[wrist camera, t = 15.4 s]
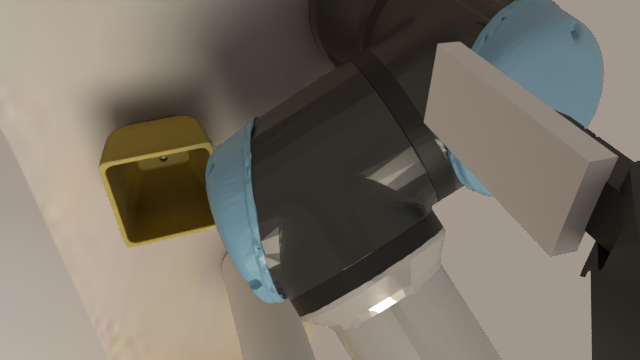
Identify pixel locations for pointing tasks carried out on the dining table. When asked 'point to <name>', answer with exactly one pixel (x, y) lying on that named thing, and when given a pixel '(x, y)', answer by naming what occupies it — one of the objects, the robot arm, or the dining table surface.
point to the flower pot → (158, 179)
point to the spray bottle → (264, 322)
